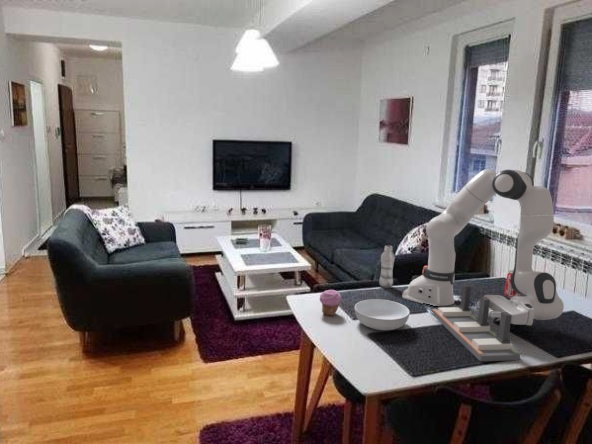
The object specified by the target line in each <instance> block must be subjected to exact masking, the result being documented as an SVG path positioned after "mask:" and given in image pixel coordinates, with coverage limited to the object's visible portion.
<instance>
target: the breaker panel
mask: <svg viewBox="0 0 592 444" xmlns="http://www.w3.org/2000/svg"><path fill="white" fill-rule="evenodd" d="M431 311H432V312H433V313H434V314H433V315H432V316H434V318H436V320H437V321H438V322H439V323H441V324H442V325H443V326H444V328H446V329H447V331H449V332H450V334H451V335H453V336H454V337H455V338H456V339H457V340H458V341H459V342H460V343H461V344H462V345H463V346H464V347H465V348H466V349H467V350H468V351H469V352H470V353H471V354H472V355H473V356H474V357H475V358H476V359H477V360H478V361H479V362H497V361H498V362H499V361H500V362H501V361H505V362H506V361H521V360H520V359H521V354H520V353H519V352H518V351H517V350H516V349H515V348H514V347H512V345H513V344H512V342H511V343H501V342H500V341H499V340H497V339H496V338H495V337H496V336H498V334H496V332H494V331H492V330H491V326H490V324H489V325H485V326H481V325H480V324H479V323H477V322H476V319H478V317H475V315H473V314H472V310H471V311H463V310H462V309H460V308H459V307H458V306H457V307H455V306H453V307H451V306H450V307H437V308H431Z"/></svg>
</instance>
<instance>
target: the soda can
mask: <svg viewBox="0 0 592 444" xmlns="http://www.w3.org/2000/svg"><path fill="white" fill-rule="evenodd" d="M513 270H514V269H512V270H509V271H508V272H507V274H506V278H505V279H506V280H505V285H504V286H505V287H504V295H505V296H506V298H507V299H509V300H510V299H511V298H512V297H514V296H522V295H520V294H518V293H516V292H515V291H514V290H513V288H512V286H511V276H512V273H513ZM505 296H504V297H505Z"/></svg>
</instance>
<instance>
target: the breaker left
mask: <svg viewBox="0 0 592 444" xmlns="http://www.w3.org/2000/svg"><path fill="white" fill-rule="evenodd" d="M471 292H472V286H471V285H470V284H467V283H466V284H465V283H464V284H462V289H461V297H460V304H458V305H457V307H459V308H460V309H462V310H463V311H472V309H471V307H470V300H471Z"/></svg>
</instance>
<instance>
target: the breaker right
mask: <svg viewBox="0 0 592 444" xmlns="http://www.w3.org/2000/svg"><path fill="white" fill-rule="evenodd" d="M511 317H512V315H511V314H509V313H508V312H501V318H500V319H499V320H500V321H499V326H498V334H497V335H498V336H496V337H495V338H496V339H497V340H499V341H500V342H501V343H511V344H512V340H511V339H509V337H510V332H511V331H510V330H511Z"/></svg>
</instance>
